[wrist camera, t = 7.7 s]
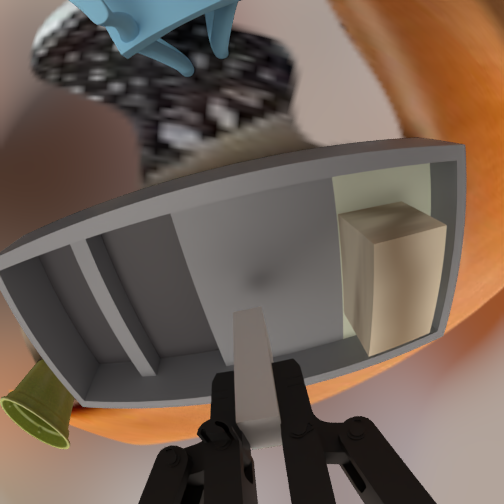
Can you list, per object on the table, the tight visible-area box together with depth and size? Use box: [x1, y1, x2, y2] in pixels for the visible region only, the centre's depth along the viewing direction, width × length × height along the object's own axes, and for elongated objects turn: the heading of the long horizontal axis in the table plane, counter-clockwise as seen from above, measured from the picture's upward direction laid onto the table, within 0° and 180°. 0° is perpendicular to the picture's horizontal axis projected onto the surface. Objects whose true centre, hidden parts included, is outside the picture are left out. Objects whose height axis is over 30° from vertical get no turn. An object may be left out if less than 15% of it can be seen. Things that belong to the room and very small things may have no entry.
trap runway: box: [0, 137, 466, 408], centre depth 18 cm, size 34×16×6 cm, turn 102°
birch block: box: [338, 201, 447, 356], centre depth 16 cm, size 5×8×5 cm, turn 12°
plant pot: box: [0, 359, 74, 449], centre depth 21 cm, size 9×9×9 cm
